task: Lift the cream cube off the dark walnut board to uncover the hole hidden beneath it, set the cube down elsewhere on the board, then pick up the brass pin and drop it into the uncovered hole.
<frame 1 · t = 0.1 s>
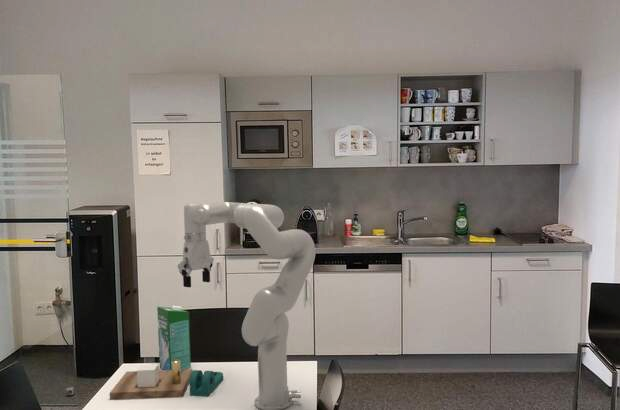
hand: (197, 284, 197), 37 cm above the table, tool pointing down, fingers open, 9 cm apart
milk carton: (175, 368, 217), on the table
walnut board: (153, 387, 198), on the table
cream cube: (148, 383, 195), point 2 cm above the table, touching walnut board
brass pin: (176, 382, 196), point 2 cm above the table, touching walnut board
bracket: (208, 387, 198), on the table
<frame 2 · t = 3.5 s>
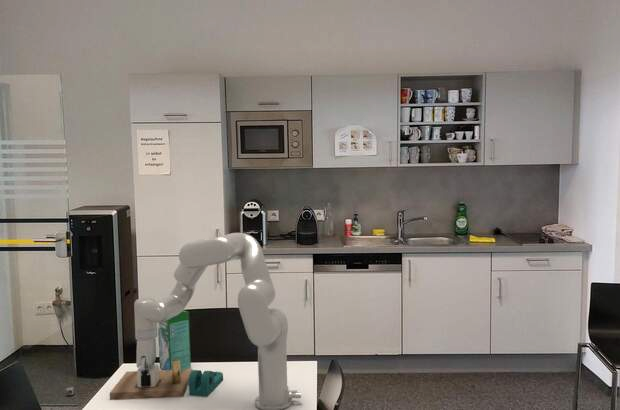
hand: (148, 382, 195), 3 cm above the table, tool pointing down, fingers closed on cream cube, 6 cm apart
cream cube: (148, 383, 195), point 3 cm above the table, touching gripper, walnut board
everything else where it was.
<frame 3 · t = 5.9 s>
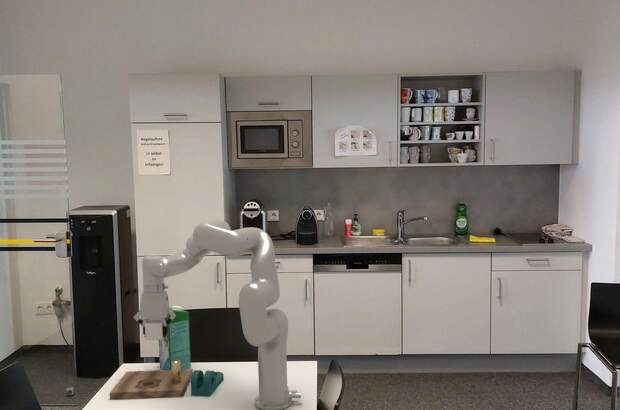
hand: (155, 335, 203), 17 cm above the table, tool pointing down, fingers closed on cream cube, 6 cm apart
cream cube: (155, 337, 203), point 17 cm above the table, touching gripper
everything else where it was.
when the fingers open (5 cm above the table, at t = 8.5 s): cream cube drops 2 cm, resting on walnut board.
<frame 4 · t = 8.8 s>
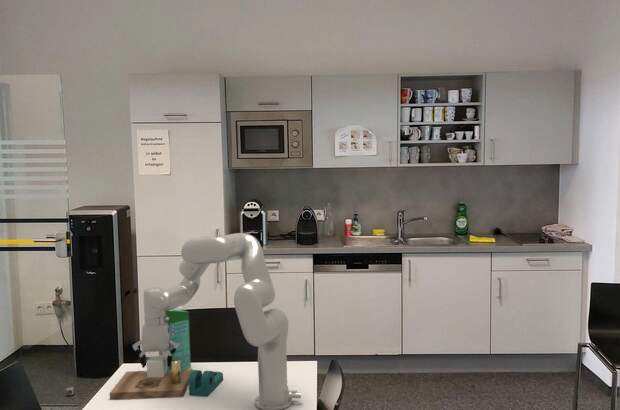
hand: (156, 365, 204), 6 cm above the table, tool pointing down, fingers open, 9 cm apart
cream cube: (157, 374, 204), point 2 cm above the table, touching walnut board
everything else where it was.
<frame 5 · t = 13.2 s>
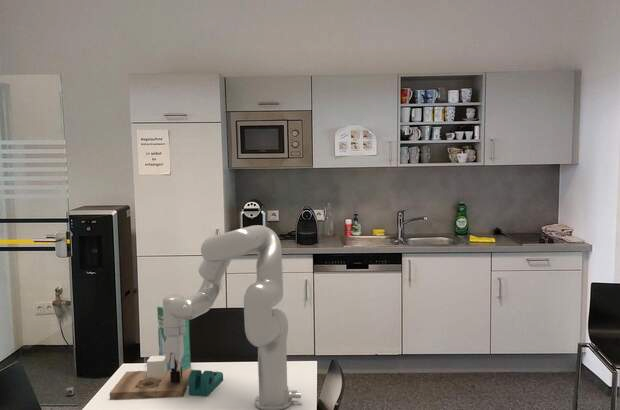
hand: (176, 379, 195), 4 cm above the table, tool pointing down, fingers closed on brass pin, 3 cm apart
brass pin: (176, 382, 196), point 2 cm above the table, touching gripper, walnut board
everything else where it was.
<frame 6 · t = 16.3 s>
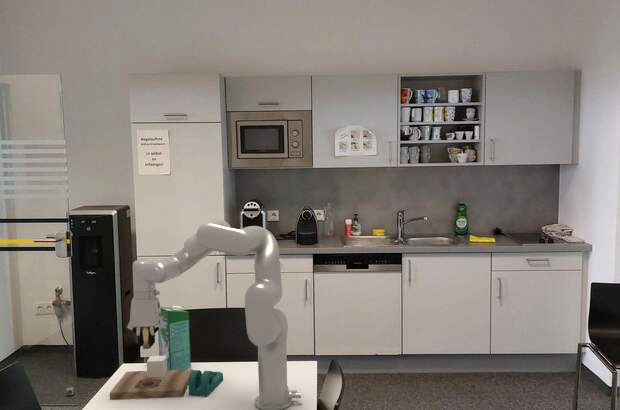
hand: (146, 345, 194), 17 cm above the table, tool pointing down, fingers closed on brass pin, 3 cm apart
brass pin: (146, 347, 194), point 16 cm above the table, touching gripper
everything else where it was.
when the fingers open (3 cm above the table, at t = 19.4 s): brass pin drops 2 cm, resting in walnut board.
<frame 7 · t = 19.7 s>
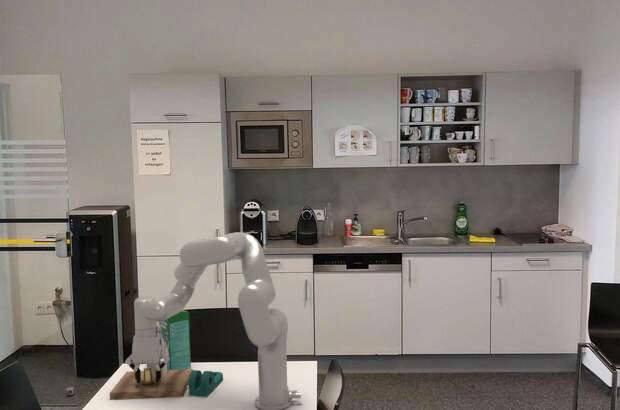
hand: (148, 380, 195), 4 cm above the table, tool pointing down, fingers open, 6 cm apart
brass pin: (148, 390, 195), resting in walnut board
everything else where it was.
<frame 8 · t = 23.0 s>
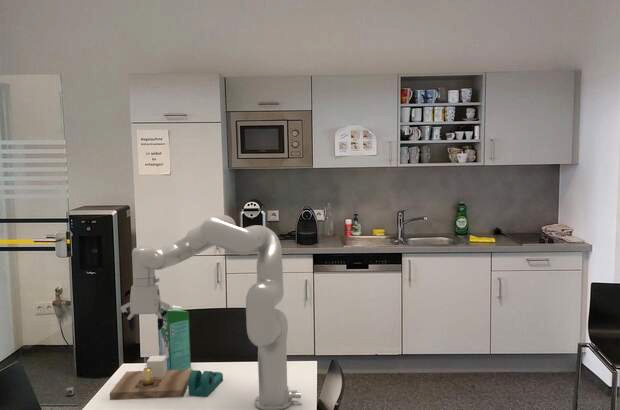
hand: (146, 329, 194), 22 cm above the table, tool pointing down, fingers open, 9 cm apart
nothing on the table moved.
at the end: brass pin 0.0 cm from the target spot on the walnut board, point 0.0 cm above the walnut board's base; brass pin tilted 0°; cream cube moved 9.0 cm from its start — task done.
